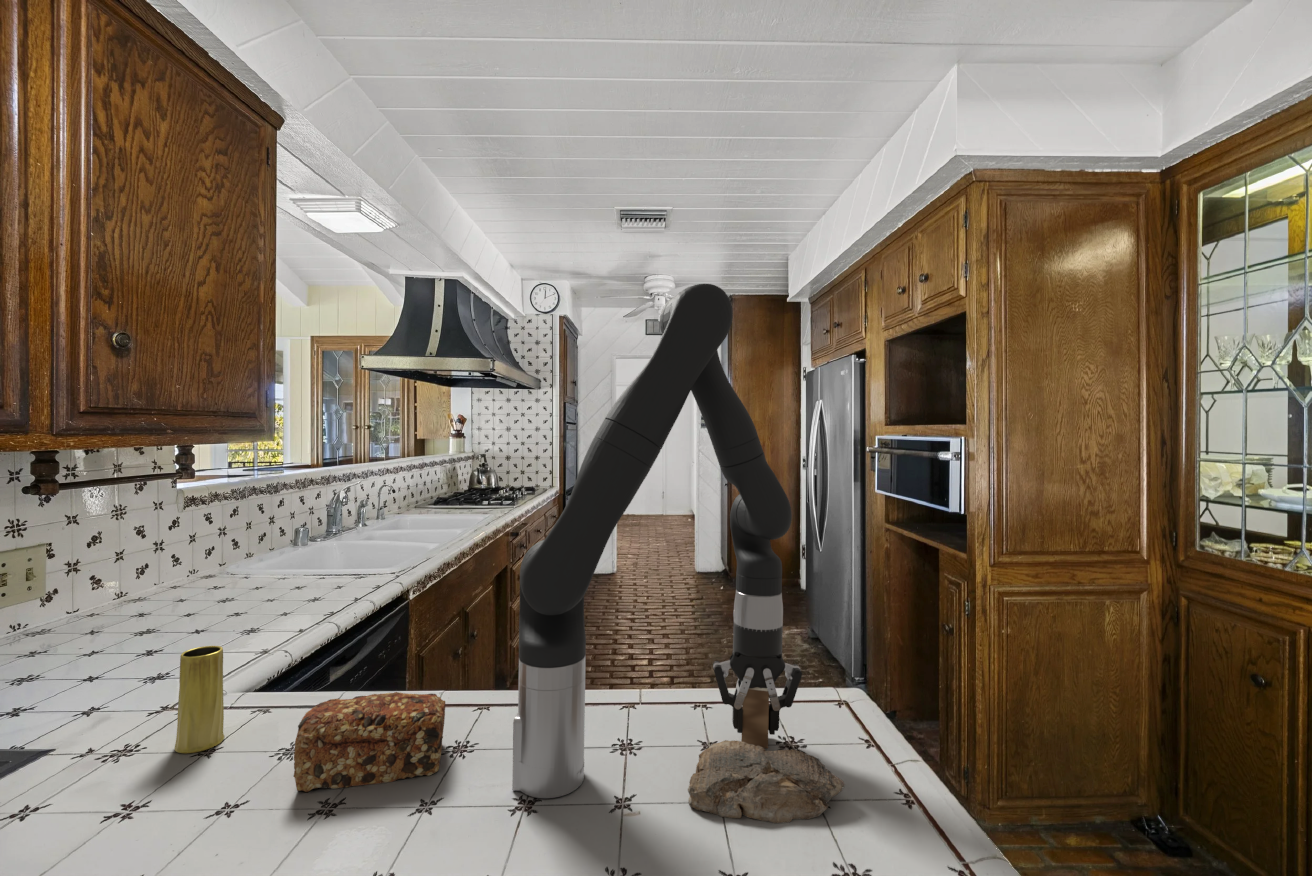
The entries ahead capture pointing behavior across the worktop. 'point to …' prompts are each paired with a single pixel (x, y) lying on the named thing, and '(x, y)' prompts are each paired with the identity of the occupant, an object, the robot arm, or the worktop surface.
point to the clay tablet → (761, 783)
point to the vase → (200, 700)
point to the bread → (369, 740)
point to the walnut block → (756, 717)
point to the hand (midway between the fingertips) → (755, 730)
